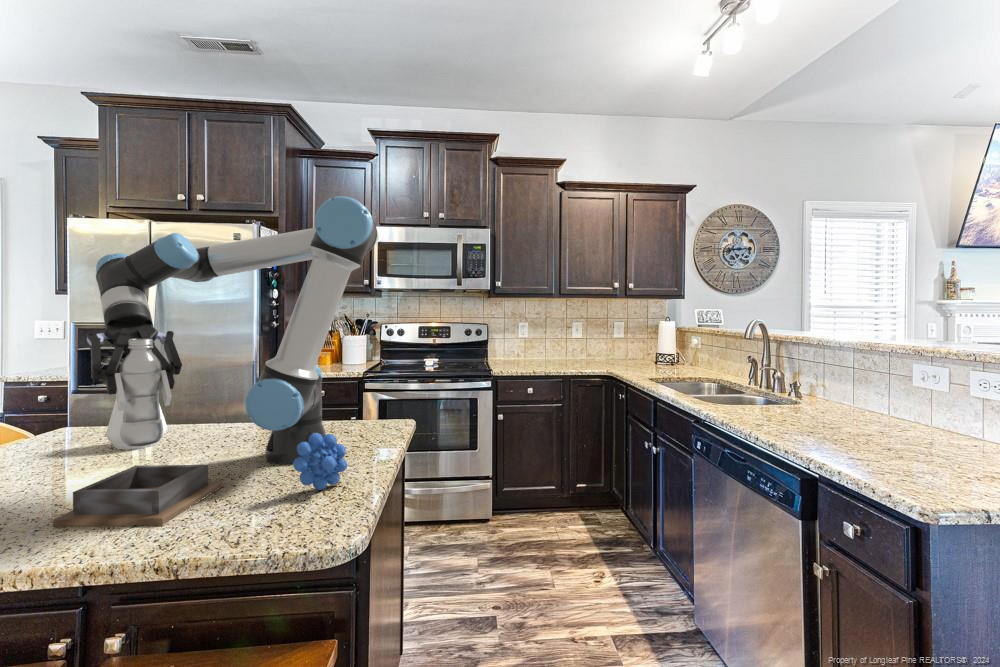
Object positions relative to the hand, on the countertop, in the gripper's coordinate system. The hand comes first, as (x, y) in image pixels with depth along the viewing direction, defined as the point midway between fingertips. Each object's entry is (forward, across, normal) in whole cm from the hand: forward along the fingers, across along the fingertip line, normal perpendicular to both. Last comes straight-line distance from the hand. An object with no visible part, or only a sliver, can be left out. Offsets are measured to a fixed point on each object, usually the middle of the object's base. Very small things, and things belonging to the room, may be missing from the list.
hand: (145, 403), depth 84 cm
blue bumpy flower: (+24, -27, -4) cm, 36 cm away
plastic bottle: (+4, 0, -9) cm, 9 cm away
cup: (-25, -8, -54) cm, 60 cm away
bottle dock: (+12, 0, -16) cm, 20 cm away
